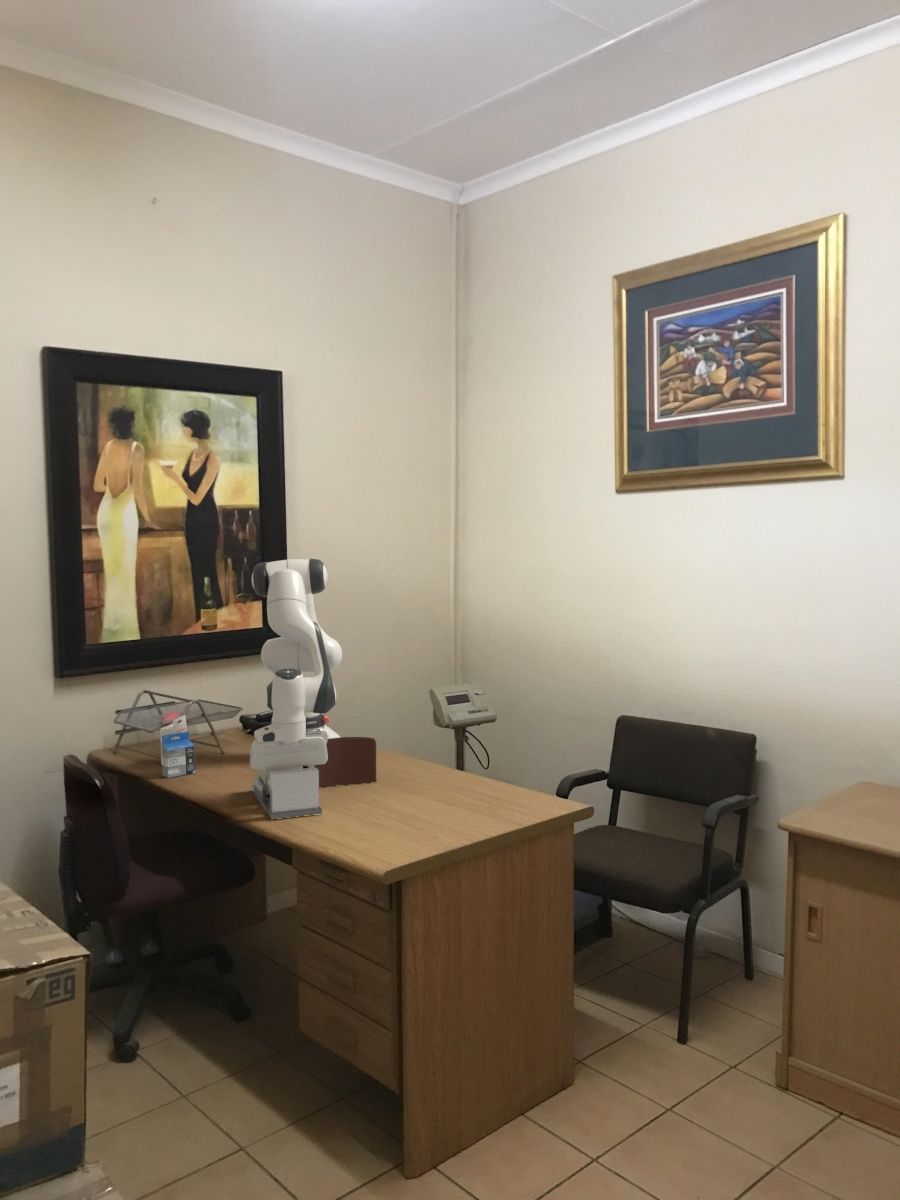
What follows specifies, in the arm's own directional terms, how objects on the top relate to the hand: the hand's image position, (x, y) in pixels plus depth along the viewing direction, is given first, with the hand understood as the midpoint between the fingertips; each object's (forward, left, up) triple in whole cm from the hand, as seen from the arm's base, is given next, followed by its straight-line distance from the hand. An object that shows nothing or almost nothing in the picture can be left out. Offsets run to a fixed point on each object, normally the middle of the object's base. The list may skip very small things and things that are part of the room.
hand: (289, 783), depth 249 cm
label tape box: (+24, -45, -7) cm, 51 cm away
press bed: (0, -5, -7) cm, 8 cm away
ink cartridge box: (+24, -60, -7) cm, 65 cm away
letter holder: (-19, -21, -7) cm, 29 cm away
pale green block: (0, -13, -5) cm, 14 cm away
